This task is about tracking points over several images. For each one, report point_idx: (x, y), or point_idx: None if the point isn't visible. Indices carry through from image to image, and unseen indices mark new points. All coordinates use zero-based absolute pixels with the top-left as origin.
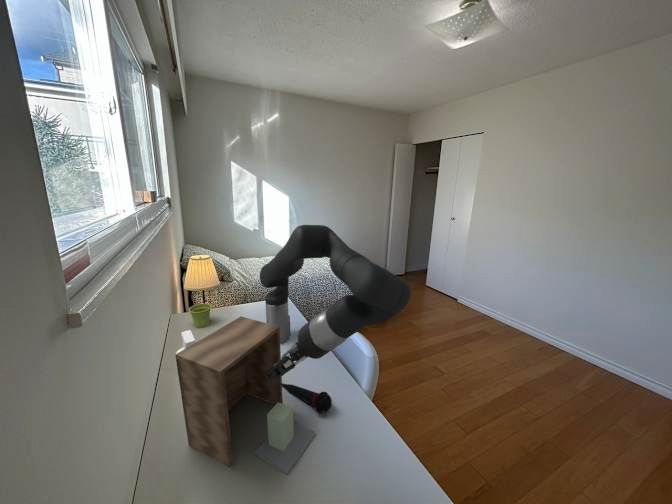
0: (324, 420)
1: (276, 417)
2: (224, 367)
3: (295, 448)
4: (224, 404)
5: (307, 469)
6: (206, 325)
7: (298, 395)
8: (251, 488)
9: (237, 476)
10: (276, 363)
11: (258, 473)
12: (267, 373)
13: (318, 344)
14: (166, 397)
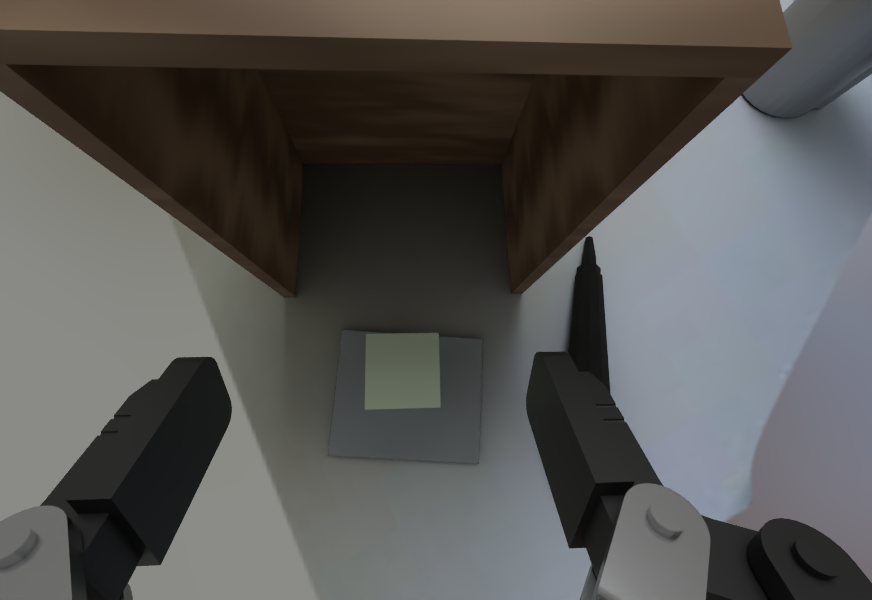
0: (537, 459)
1: (372, 375)
2: None
3: (402, 432)
4: (160, 203)
5: (367, 500)
6: None
7: (572, 326)
8: (262, 386)
9: (274, 330)
10: (5, 564)
11: (302, 376)
12: (123, 404)
13: None
14: None
